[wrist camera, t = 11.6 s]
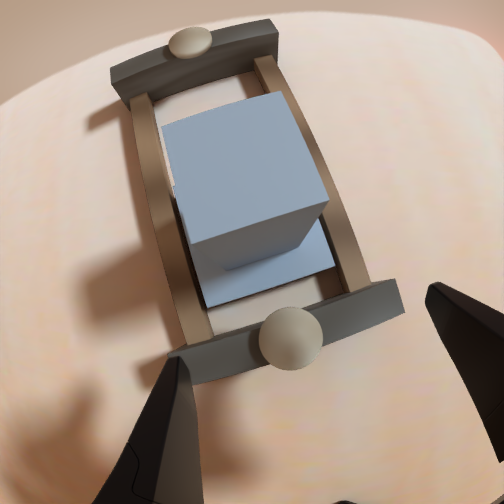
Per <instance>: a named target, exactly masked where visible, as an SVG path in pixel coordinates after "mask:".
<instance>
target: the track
mask: <svg viewBox="0 0 504 504" xmlns="http://www.w3.org/2000/svg"><path fill="white" fill-rule="evenodd" d="M278 37H279V32H278V30H277V29H276V27H275V26H274V24H273V23H272V21H271V20H270V19H264V20H259V21H254V22H248V23H244V24H239V25H235V26H230V27H226V28H222V29H218V30H214V31H210V32H209V31H208V30H207V29H205V28H202V27H190V28H186V29H183V30H181V31H179V32H177V33H176V34H174V35H173V36H172V37H171V39H170V40H169V44H168V45H165V46H162V47H160V48H157V49H154V50H152V51H149V52H146V53H144V54H141V55H139V56H136V57H134V58H131V59H129V60H127V61H124V62H122V63H120V64H118V65H115V66H113V67H111V68H110V75H111V85H112V86H113V87H114V89H115V90H116V92H117V93H118V95H119V96H120V98H121V99H122V101H123V102H124V104H125V105H126V106H127V108H128V109H129V111H131V114H132V121H133V127H134V133H135V139H136V144H137V150H138V155H139V161H140V166H141V171H142V176H143V181H144V186H145V191H146V195H147V200H148V204H149V209H150V213H151V217H152V222H153V226H154V230H155V234H156V238H157V242H158V246H159V250H160V254H161V258H162V261H163V265H164V269H165V273H166V276H167V280H168V283H169V287H170V290H171V294H172V297H173V301H174V304H175V307H176V311H177V314H178V317H179V320H180V323H181V327H182V330H183V333H184V336H185V339H186V342H187V344H185V345H183V346H181V347H180V348H178V349H176V350H174V351H172V352H171V353H169V354H167V355H168V358H169V357H173V356H181V357H182V359H183V360H184V362H185V364H186V365H187V367H188V369H189V371H190V375H191V382H192V385H196V384H201V383H205V382H209V381H212V380H216V379H220V378H224V377H228V376H231V375H235V374H238V373H242V372H245V371H249V370H252V369H256V368H259V367H262V366H266V365H269V364H272V365H273V366H275V367H277V368H279V369H283V370H297V369H301V368H303V367H305V366H307V365H309V364H310V363H311V362H312V361H313V360H314V359H315V358H316V357H317V356H318V354H319V352H320V350H321V347H322V346H325V345H327V344H330V343H333V342H335V341H338V340H341V339H343V338H346V337H348V336H351V335H353V334H356V333H358V332H361V331H363V330H366V329H368V328H371V327H373V326H375V325H378V324H380V323H382V322H385V321H387V320H389V319H392V318H394V317H396V316H398V315H400V314H403V313H405V310H404V307H403V303H402V300H401V297H400V293H399V290H398V287H397V283H396V280H395V279H389V280H384V281H378V282H372V283H371V281H370V278H369V275H368V272H367V269H366V266H365V263H364V260H363V257H362V254H361V251H360V248H359V246H358V243H357V240H356V237H355V235H354V232H353V229H352V227H351V224H350V221H349V219H348V216H347V213H346V211H345V208H344V206H343V203H342V201H341V198H340V196H339V193H338V191H337V189H336V186H335V184H334V181H333V179H332V177H331V174H330V172H329V170H328V167H327V165H326V163H325V160H324V158H323V156H322V154H321V151H320V149H319V147H318V145H317V143H316V141H315V138H314V136H313V134H312V132H311V130H310V128H309V126H308V124H307V122H306V119H305V117H304V115H303V113H302V111H301V109H300V107H299V105H298V103H297V101H296V99H295V97H294V95H293V94H292V92H291V90H290V88H289V86H288V84H287V82H286V80H285V78H284V76H283V75H282V73H281V71H280V69H279V67H278V65H277V61H278ZM252 70H255V72H256V75H257V77H258V79H259V81H260V83H261V85H262V87H263V89H264V91H265V93H266V94H269V93H273V92H277V91H281V92H282V94H283V96H284V98H285V100H286V102H287V104H288V106H289V108H290V110H291V112H292V115H293V117H294V119H295V121H296V123H297V125H298V127H299V129H300V132H301V134H302V136H303V138H304V140H305V143H306V145H307V147H308V149H309V152H310V154H311V156H312V158H313V161H314V163H315V165H316V168H317V170H318V173H319V175H320V177H321V180H322V182H323V185H324V187H325V189H326V192H327V194H328V197H329V199H330V200H329V202H328V203H327V205H326V206H325V208H324V210H323V211H322V213H321V214H320V216H319V217H318V219H319V221H320V224H321V227H322V230H323V232H324V235H325V238H326V241H327V243H328V246H329V249H330V252H331V255H332V257H333V260H334V263H335V267H336V270H337V273H338V276H339V279H340V282H341V285H342V288H343V291H344V293H343V294H340V295H337V296H335V297H332V298H329V299H326V300H324V301H321V302H318V303H315V304H312V305H310V306H307V307H304V308H301V309H299V308H295V307H287V308H282V309H279V310H277V311H275V312H273V313H272V314H270V315H269V316H268V317H267V318H266V320H265V321H262V322H259V323H256V324H253V325H249V326H246V327H243V328H240V329H236V330H233V331H230V332H226V333H223V334H220V335H216V336H214V333H213V330H212V327H211V324H210V321H209V318H208V315H207V312H206V308H205V305H204V302H203V299H202V296H201V292H200V289H199V286H198V282H197V279H196V276H195V272H194V269H193V266H192V262H191V259H190V255H189V252H188V248H187V245H186V241H185V237H184V234H183V230H182V226H181V223H180V219H179V215H178V211H177V208H176V204H175V200H174V196H173V192H172V188H171V184H170V180H169V176H168V172H167V168H166V163H165V159H164V155H163V151H162V146H161V142H160V137H159V133H158V128H157V124H156V119H155V114H154V109H153V104H152V102H153V101H156V100H159V99H161V98H164V97H167V96H169V95H172V94H175V93H178V92H181V91H183V90H186V89H189V88H192V87H196V86H199V85H202V84H205V83H208V82H212V81H215V80H218V79H222V78H225V77H229V76H233V75H236V74H240V73H244V72H248V71H252Z"/></svg>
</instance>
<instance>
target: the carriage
mask: <svg viewBox="0 0 504 504" xmlns="http://www.w3.org/2000/svg"><path fill="white" fill-rule="evenodd" d="M161 128H162V132H163V137H164V141H165V145H166V150H167V154H168V158H169V162H170V166H171V170H172V174H173V178H174V182H175V186H173V189H174V193H175V197H176V201H177V205H178V208H179V212H180V216H181V220H182V223H183V227H184V231H185V234H186V238H187V242H188V245H189V249H190V252H191V256H192V259H193V263H194V266H195V269H196V273H197V276H198V279H199V283H200V286H201V289H202V293H203V296H204V299H205V302H206V306H207V308H210V307H214V306H217V305H220V304H223V303H227V302H230V301H233V300H236V299H239V298H242V297H246V296H249V295H252V294H255V293H258V292H261V291H264V290H267V289H270V288H273V287H276V286H279V285H282V284H285V283H288V282H291V281H294V280H297V279H300V278H303V277H306V276H309V275H312V274H315V273H318V272H320V271H323V270H326V269H329V268H331V267H334V266H335V263H334V260H333V257H332V255H331V252H330V249H329V246H328V243H327V241H326V238H325V235H324V232H323V230H322V227H321V224H320V221H319V219H318V217H319V216H320V214H321V213H322V211H323V210H324V208H325V206H326V205H327V203H328V202H329V200H330V199H329V197H328V194H327V192H326V189H325V187H324V185H323V182H322V180H321V177H320V175H319V173H318V170H317V168H316V165H315V163H314V161H313V158H312V156H311V154H310V152H309V149H308V147H307V145H306V143H305V140H304V138H303V136H302V134H301V132H300V129H299V127H298V125H297V123H296V121H295V119H294V117H293V115H292V112H291V110H290V108H289V106H288V104H287V102H286V100H285V98H284V96H283V94H282V92H281V91H277V92H273V93H269V94H265V95H261V96H257V97H253V98H249V99H245V100H242V101H238V102H235V103H231V104H228V105H224V106H221V107H218V108H214V109H211V110H208V111H205V112H202V113H199V114H196V115H193V116H190V117H187V118H184V119H181V120H178V121H176V122H173V123H170V124H167V125H165V126H162V127H161Z"/></svg>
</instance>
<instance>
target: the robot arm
mask: <svg viewBox="0 0 504 504" xmlns="http://www.w3.org/2000/svg"><path fill="white" fill-rule="evenodd" d="M425 305H426V308H427V310H428V312H429V314H430V316H431V319H432V321H433V323H434V325H435V328H436V330H437V332H438V334H439V336H440V338H441V340H442V342H443V344H444V346H445V348H446V349H447V351H448V353H449V355H450V357H451V359H452V360H453V362H454V364H455V366H456V368H457V370H458V372H459V374H460V376H461V378H462V380H463V382H464V384H465V386H466V388H467V390H468V392H469V394H470V396H471V398H472V400H473V402H474V404H475V406H476V408H477V411H478V413H479V415H480V417H481V419H482V422H483V424H484V427H485V429H486V431H487V434H488V436H489V438H490V441H491V443H492V446H493V448H494V451H495V454H496V456H497V459H498V461H499V463H501V462H502V461H504V314H503V313H501V312H499V311H497V310H495V309H493V308H491V307H489V306H487V305H485V304H483V303H481V302H479V301H477V300H475V299H473V298H471V297H469V296H467V295H465V294H463V293H461V292H459V291H457V290H455V289H453V288H451V287H449V286H447V285H445V284H443V283H441V282H435V283H432V284H430V285H429V287H428V290H427V294H426V298H425ZM92 504H204V499H203V489H202V478H201V466H200V453H199V438H198V422H197V411H196V405H195V400H194V394H193V388H192V382H191V375H190V371H189V369H188V367H187V365H186V364H185V362H184V360H183V359H182V357H181V356H173V357H169V358H168V359H167V361H166V363H165V365H164V367H163V369H162V371H161V373H160V375H159V377H158V379H157V381H156V383H155V385H154V387H153V389H152V391H151V393H150V395H149V397H148V400H147V402H146V404H145V406H144V408H143V410H142V412H141V414H140V416H139V418H138V420H137V422H136V424H135V427H134V429H133V431H132V433H131V435H130V437H129V439H128V442H127V443H126V445H125V447H124V450H123V452H122V454H121V456H120V458H119V460H118V462H117V463H116V465H115V467H114V469H113V470H112V472H111V474H110V475H109V477H108V479H107V480H106V482H105V484H104V485H103V487H102V488H101V490H100V492H99V493H98V495H97V496H96V498H95V500H94V501H93V502H92ZM339 504H356V503H353V502H349V501H342V502H340V503H339ZM491 504H504V494H503V495H502V496H500V497H499V498H498V499H497V500H495V501H494V502H493V503H491Z"/></svg>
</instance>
